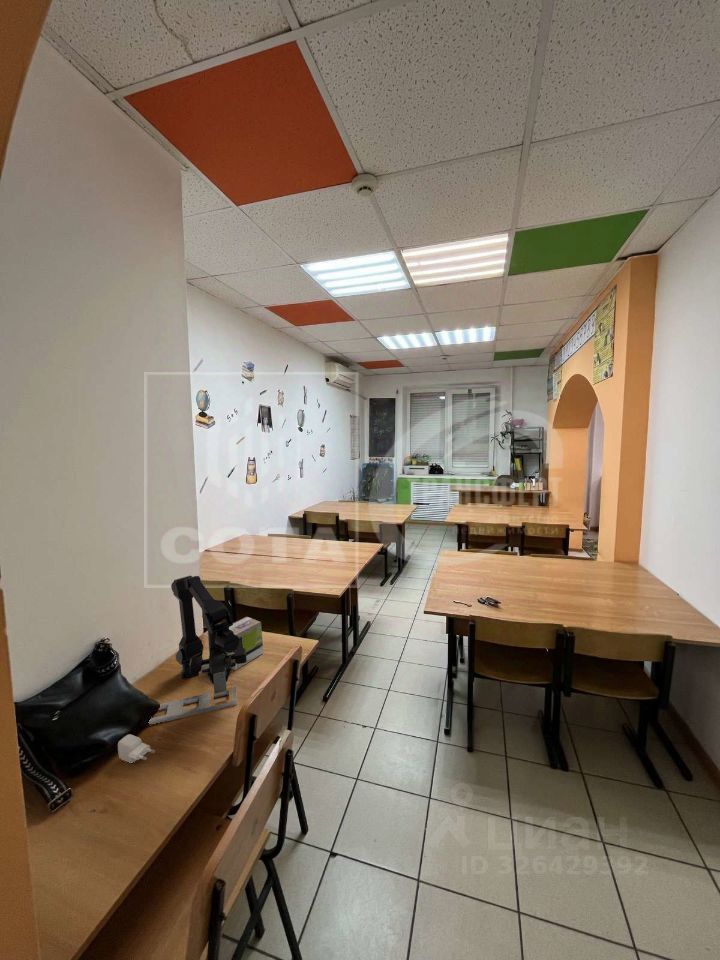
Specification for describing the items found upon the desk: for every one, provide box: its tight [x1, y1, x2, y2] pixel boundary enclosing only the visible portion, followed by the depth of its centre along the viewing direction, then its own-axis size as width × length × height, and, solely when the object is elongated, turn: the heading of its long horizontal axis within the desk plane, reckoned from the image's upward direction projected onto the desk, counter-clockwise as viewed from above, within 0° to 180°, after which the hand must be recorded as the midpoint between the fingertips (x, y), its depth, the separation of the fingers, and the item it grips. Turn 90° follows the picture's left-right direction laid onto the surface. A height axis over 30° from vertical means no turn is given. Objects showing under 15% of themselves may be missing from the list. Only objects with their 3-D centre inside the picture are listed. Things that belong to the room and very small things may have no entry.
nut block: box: [213, 670, 227, 694], centre depth 134 cm, size 4×4×7 cm
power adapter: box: [117, 733, 155, 764], centre depth 110 cm, size 11×5×6 cm, turn 68°
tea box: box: [227, 616, 264, 671], centre depth 160 cm, size 15×10×15 cm
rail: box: [148, 686, 237, 725], centre depth 132 cm, size 8×30×2 cm, turn 109°
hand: (220, 682), depth 134 cm, fingers closed on nut block, 4 cm apart
